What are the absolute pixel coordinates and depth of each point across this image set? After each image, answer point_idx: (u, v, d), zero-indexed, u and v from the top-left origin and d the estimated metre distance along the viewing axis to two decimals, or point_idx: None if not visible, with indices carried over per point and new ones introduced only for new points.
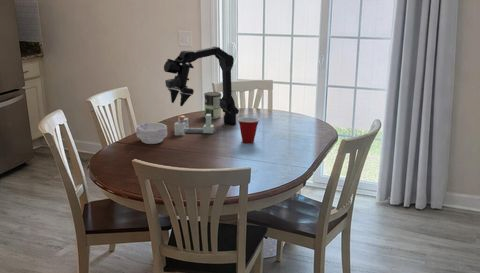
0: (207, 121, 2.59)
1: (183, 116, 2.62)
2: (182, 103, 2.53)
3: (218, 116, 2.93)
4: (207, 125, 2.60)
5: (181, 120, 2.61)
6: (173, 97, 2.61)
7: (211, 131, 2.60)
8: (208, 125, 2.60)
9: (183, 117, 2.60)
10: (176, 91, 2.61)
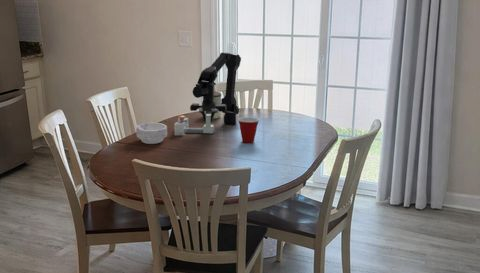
0: (207, 121, 2.59)
1: (183, 116, 2.62)
2: None
3: (218, 116, 2.93)
4: (207, 125, 2.60)
5: (181, 120, 2.61)
6: (205, 117, 2.61)
7: (211, 131, 2.60)
8: (208, 125, 2.60)
9: (183, 117, 2.60)
10: (205, 111, 2.61)
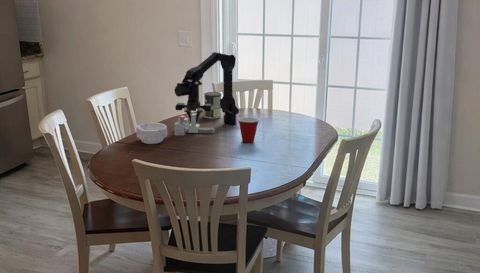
0: (192, 121, 2.60)
1: (183, 116, 2.62)
2: (197, 120, 2.62)
3: (218, 116, 2.93)
4: (192, 125, 2.60)
5: (181, 120, 2.61)
6: None
7: (196, 131, 2.61)
8: (194, 125, 2.60)
9: (183, 117, 2.60)
10: (190, 110, 2.62)
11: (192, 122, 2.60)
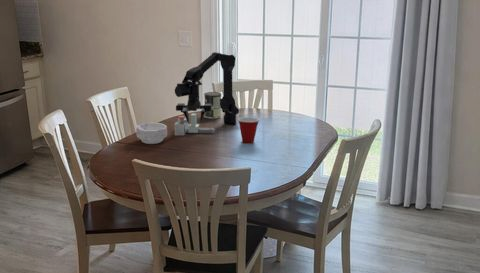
0: (192, 121, 2.60)
1: (183, 116, 2.62)
2: None
3: (218, 116, 2.93)
4: (192, 125, 2.61)
5: (181, 120, 2.61)
6: (188, 117, 2.62)
7: (196, 131, 2.61)
8: (193, 125, 2.60)
9: (183, 117, 2.60)
10: (187, 110, 2.62)
11: (192, 122, 2.60)
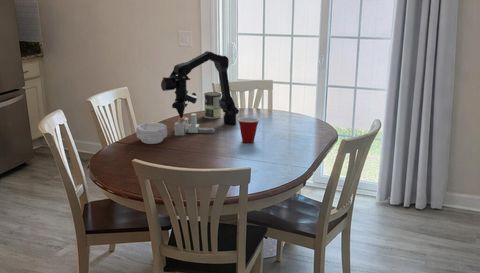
0: (192, 121, 2.60)
1: (183, 117, 2.62)
2: None
3: (218, 116, 2.93)
4: (192, 125, 2.61)
5: (181, 121, 2.61)
6: None
7: (196, 131, 2.61)
8: (193, 125, 2.60)
9: (183, 118, 2.61)
10: None
11: (192, 122, 2.60)
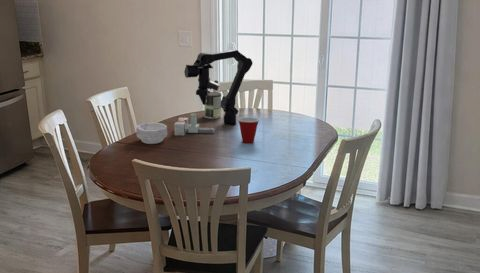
0: (192, 121, 2.60)
1: (183, 120, 2.62)
2: None
3: (218, 116, 2.93)
4: (192, 125, 2.61)
5: None
6: None
7: (196, 131, 2.61)
8: (193, 125, 2.60)
9: (183, 121, 2.61)
10: None
11: (192, 122, 2.60)
